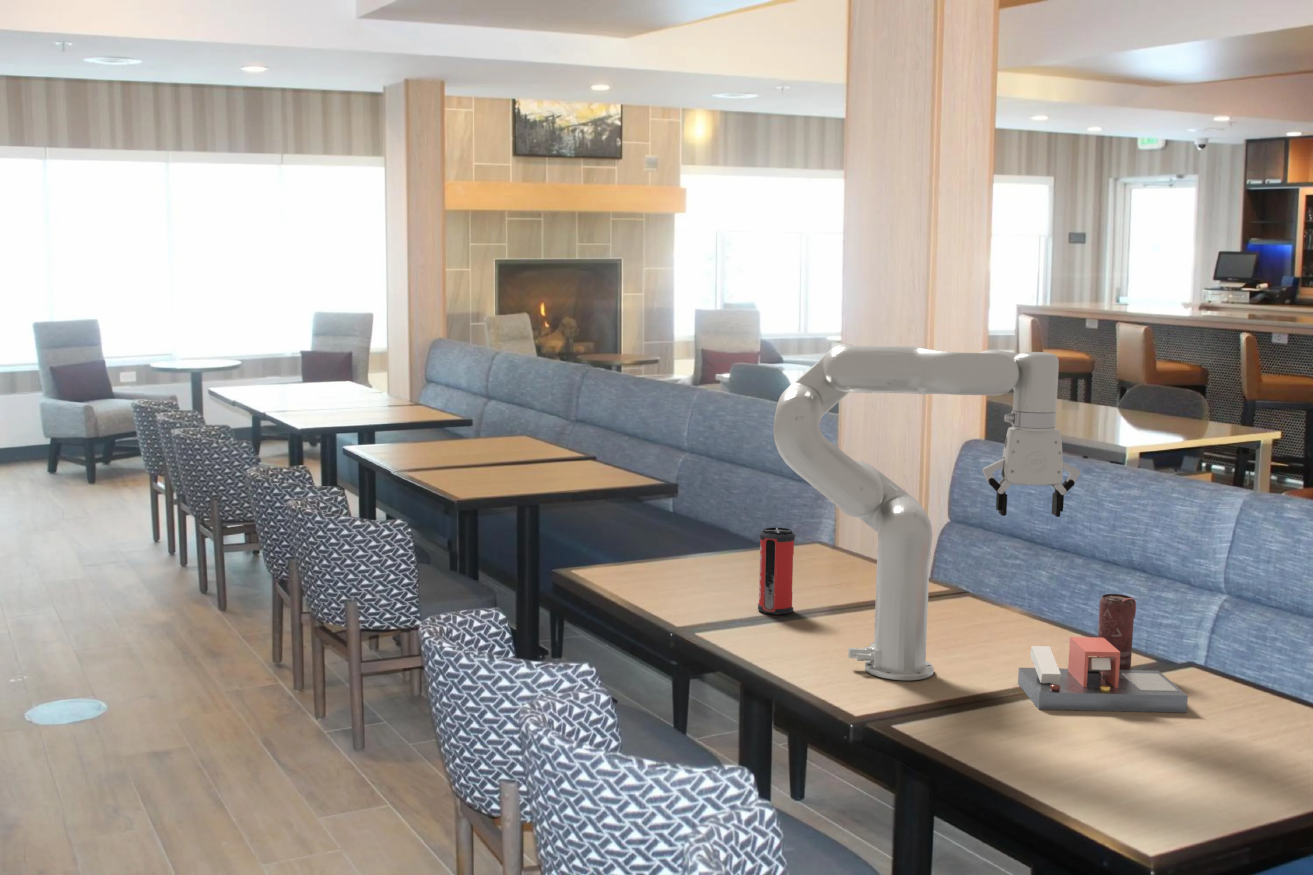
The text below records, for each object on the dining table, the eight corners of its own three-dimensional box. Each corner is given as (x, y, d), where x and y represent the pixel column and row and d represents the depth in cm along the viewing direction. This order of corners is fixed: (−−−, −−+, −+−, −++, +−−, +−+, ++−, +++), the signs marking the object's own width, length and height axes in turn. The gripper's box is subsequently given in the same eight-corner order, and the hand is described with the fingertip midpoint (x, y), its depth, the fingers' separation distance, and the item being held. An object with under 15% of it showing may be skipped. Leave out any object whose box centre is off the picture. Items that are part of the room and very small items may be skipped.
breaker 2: (1091, 669, 224) (1091, 656, 225) (1078, 672, 232) (1077, 660, 232) (1110, 669, 224) (1110, 656, 225) (1096, 672, 232) (1095, 660, 232)
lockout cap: (1083, 686, 224) (1085, 651, 223) (1068, 670, 233) (1070, 636, 232) (1118, 687, 224) (1120, 652, 223) (1101, 671, 233) (1103, 637, 232)
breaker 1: (1040, 682, 225) (1042, 673, 224) (1030, 654, 232) (1031, 645, 232) (1059, 683, 225) (1060, 674, 224) (1048, 655, 232) (1049, 646, 231)
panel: (1038, 709, 221) (1039, 685, 221) (1017, 683, 235) (1019, 660, 235) (1186, 712, 221) (1188, 688, 220) (1157, 686, 235) (1158, 663, 234)
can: (1134, 675, 241) (1138, 601, 239) (1098, 672, 242) (1102, 599, 240) (1129, 665, 247) (1133, 593, 245) (1094, 663, 248) (1098, 591, 246)
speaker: (794, 615, 279) (797, 533, 277) (759, 615, 280) (761, 533, 277) (791, 606, 287) (793, 526, 285) (756, 606, 287) (758, 526, 285)
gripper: (990, 422, 230) (985, 518, 232) (1088, 424, 229) (1083, 519, 231) (980, 418, 237) (976, 510, 239) (1076, 419, 237) (1071, 512, 239)
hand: (1029, 514), depth 235 cm, fingers open, 9 cm apart
